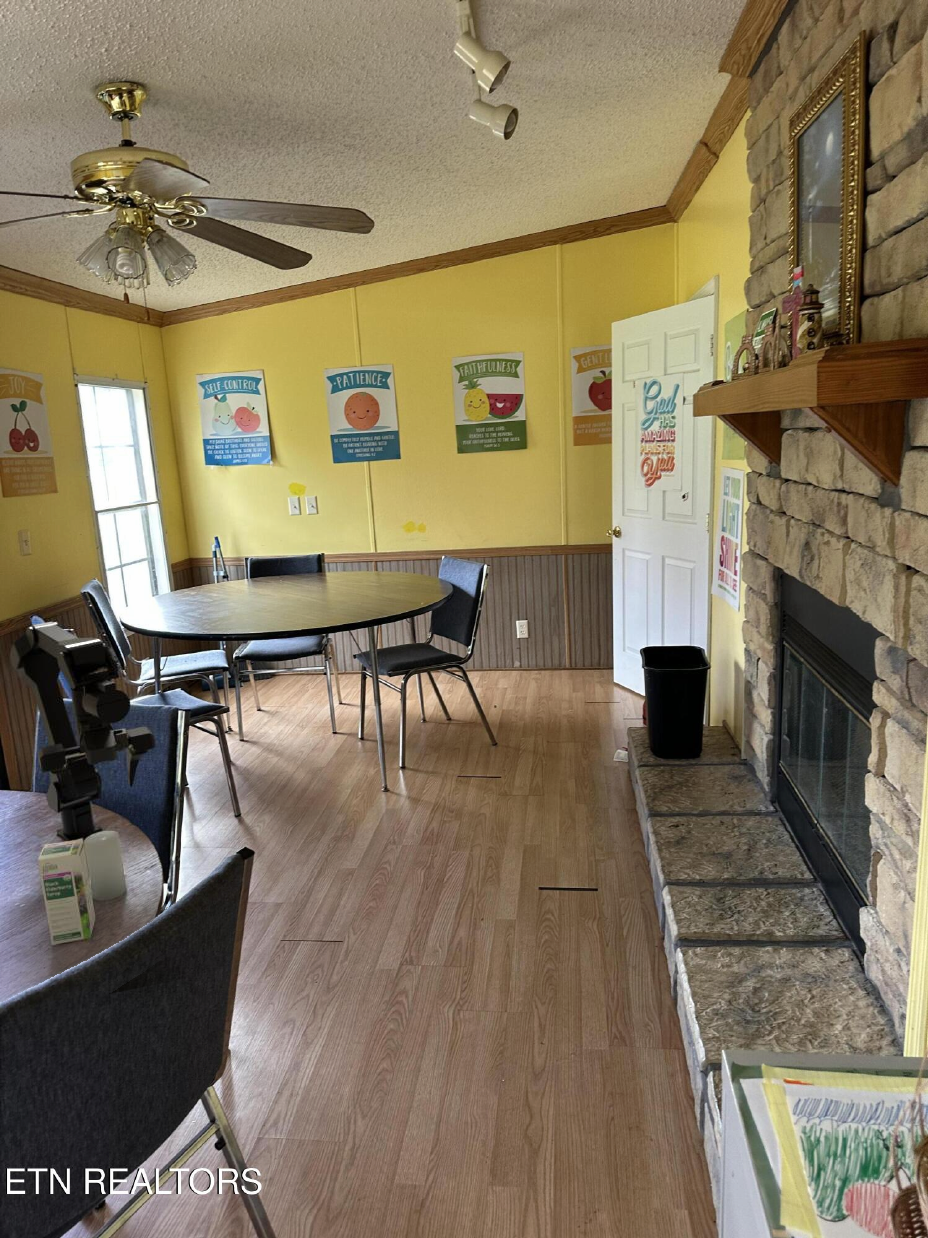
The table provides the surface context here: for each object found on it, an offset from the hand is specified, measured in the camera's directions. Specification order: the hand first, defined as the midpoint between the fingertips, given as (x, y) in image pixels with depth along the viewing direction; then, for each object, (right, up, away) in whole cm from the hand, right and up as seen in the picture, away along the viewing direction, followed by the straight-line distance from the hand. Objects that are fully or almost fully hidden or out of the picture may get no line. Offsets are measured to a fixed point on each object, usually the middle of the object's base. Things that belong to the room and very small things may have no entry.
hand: (104, 792), depth 152 cm
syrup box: (+4, -18, -20) cm, 27 cm away
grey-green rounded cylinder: (+5, -15, -9) cm, 18 cm away
